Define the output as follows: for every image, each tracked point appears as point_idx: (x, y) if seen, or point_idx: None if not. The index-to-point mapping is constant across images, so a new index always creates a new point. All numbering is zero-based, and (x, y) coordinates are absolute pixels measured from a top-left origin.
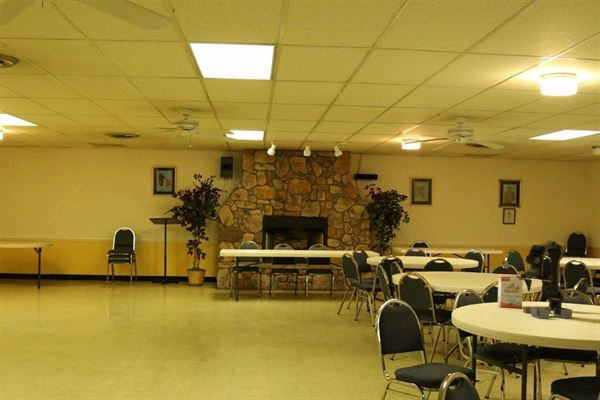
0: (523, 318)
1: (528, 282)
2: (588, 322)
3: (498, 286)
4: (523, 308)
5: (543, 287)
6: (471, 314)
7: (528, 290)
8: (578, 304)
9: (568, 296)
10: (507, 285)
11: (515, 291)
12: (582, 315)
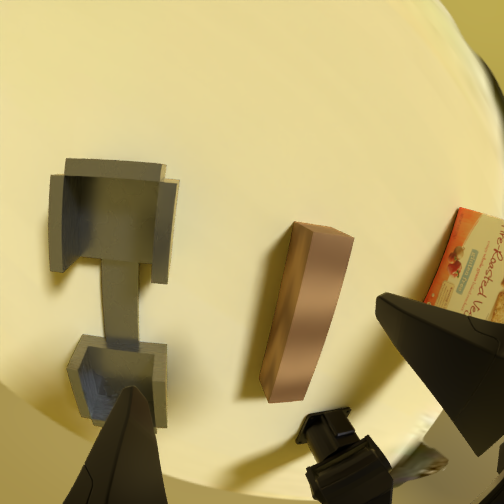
0: (113, 60)
1: (487, 376)
2: (14, 378)
3: None
4: (341, 233)
5: (89, 459)
6: None
7: (383, 296)
8: None
9: (423, 468)
10: None
11: (496, 314)
12: (188, 459)
